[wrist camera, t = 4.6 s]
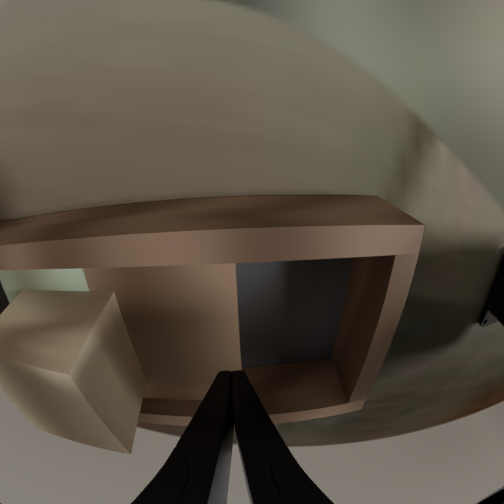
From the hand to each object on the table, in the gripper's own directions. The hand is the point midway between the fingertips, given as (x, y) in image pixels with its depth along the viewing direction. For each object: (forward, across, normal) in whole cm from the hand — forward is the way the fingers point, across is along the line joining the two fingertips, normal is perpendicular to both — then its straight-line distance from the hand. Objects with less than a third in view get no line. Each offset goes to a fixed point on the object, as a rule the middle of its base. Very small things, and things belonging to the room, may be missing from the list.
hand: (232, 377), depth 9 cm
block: (+2, +7, 0) cm, 7 cm away
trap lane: (+4, +5, 0) cm, 7 cm away
